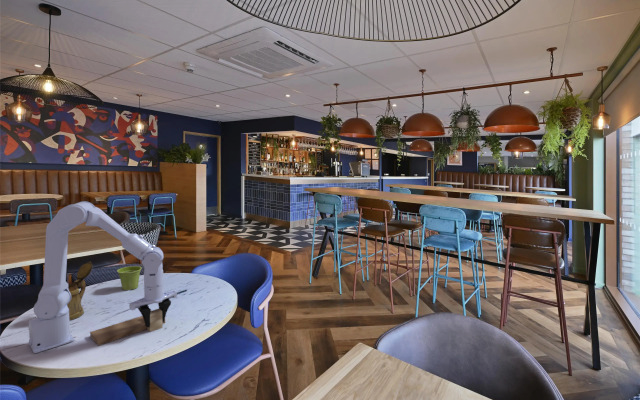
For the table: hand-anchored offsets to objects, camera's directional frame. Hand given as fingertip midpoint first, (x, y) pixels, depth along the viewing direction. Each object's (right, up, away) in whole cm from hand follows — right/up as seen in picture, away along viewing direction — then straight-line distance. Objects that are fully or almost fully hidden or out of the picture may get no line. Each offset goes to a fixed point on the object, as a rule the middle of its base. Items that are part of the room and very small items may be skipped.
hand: (154, 323), depth 107 cm
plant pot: (-30, +2, +36) cm, 46 cm away
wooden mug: (-35, 0, +10) cm, 36 cm away
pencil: (-8, 0, +28) cm, 29 cm away
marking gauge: (-2, -1, +2) cm, 3 cm away
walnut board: (-8, -2, -1) cm, 8 cm away
